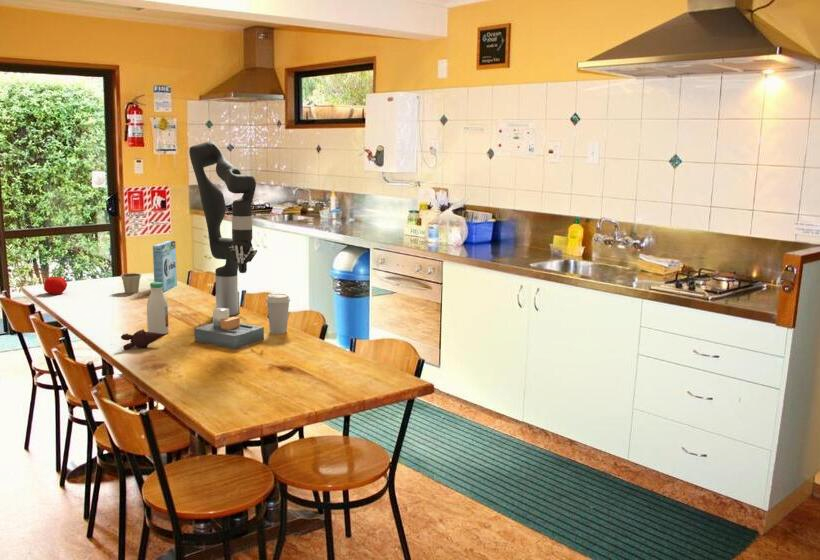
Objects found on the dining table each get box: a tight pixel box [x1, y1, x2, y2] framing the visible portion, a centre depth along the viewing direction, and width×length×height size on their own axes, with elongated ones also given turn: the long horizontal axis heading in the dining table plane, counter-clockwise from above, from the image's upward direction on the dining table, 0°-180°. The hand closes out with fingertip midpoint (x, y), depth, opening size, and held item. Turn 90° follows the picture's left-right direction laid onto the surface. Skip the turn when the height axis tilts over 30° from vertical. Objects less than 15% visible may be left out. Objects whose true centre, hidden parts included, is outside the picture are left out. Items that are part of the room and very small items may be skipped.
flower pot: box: [120, 272, 142, 295], centre depth 363 cm, size 9×9×9 cm
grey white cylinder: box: [212, 308, 230, 328], centre depth 284 cm, size 6×6×11 cm
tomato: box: [43, 276, 68, 295], centre depth 356 cm, size 9×10×8 cm
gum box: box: [152, 240, 178, 293], centre depth 373 cm, size 20×5×23 cm, turn 178°
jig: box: [193, 322, 265, 350], centre depth 283 cm, size 16×20×6 cm
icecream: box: [120, 328, 166, 351], centre depth 271 cm, size 7×7×15 cm
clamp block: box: [221, 316, 241, 330], centre depth 282 cm, size 7×3×3 cm, turn 152°
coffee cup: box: [265, 292, 291, 335], centre depth 296 cm, size 10×10×15 cm
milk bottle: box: [146, 281, 169, 335], centre depth 290 cm, size 8×8×20 cm
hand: (242, 272), depth 286 cm, fingers closed
